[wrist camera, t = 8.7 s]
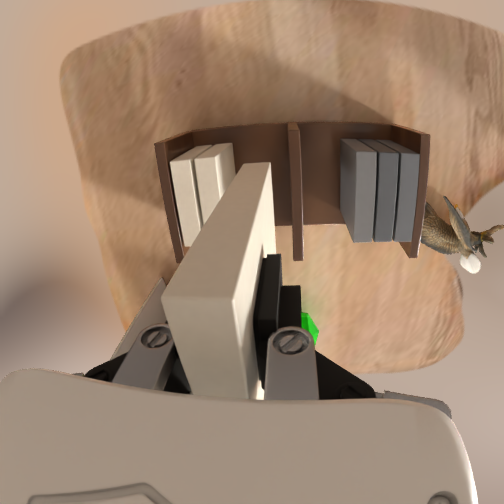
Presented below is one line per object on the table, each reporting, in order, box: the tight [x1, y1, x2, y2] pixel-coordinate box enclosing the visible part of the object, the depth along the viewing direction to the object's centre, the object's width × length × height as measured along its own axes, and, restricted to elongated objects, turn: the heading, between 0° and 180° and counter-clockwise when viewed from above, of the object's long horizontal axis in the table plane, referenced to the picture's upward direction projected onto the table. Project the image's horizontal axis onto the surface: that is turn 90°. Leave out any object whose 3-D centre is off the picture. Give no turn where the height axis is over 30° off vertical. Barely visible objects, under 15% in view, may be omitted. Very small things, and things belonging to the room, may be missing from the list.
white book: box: [161, 162, 276, 400], centre depth 13 cm, size 2×7×13 cm, turn 5°
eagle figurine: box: [420, 196, 504, 274], centre depth 26 cm, size 8×7×9 cm
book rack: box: [154, 122, 430, 263], centre depth 25 cm, size 20×10×8 cm, turn 95°
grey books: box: [340, 139, 419, 243], centre depth 24 cm, size 5×7×7 cm
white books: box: [170, 143, 236, 246], centre depth 26 cm, size 4×7×7 cm, turn 5°
